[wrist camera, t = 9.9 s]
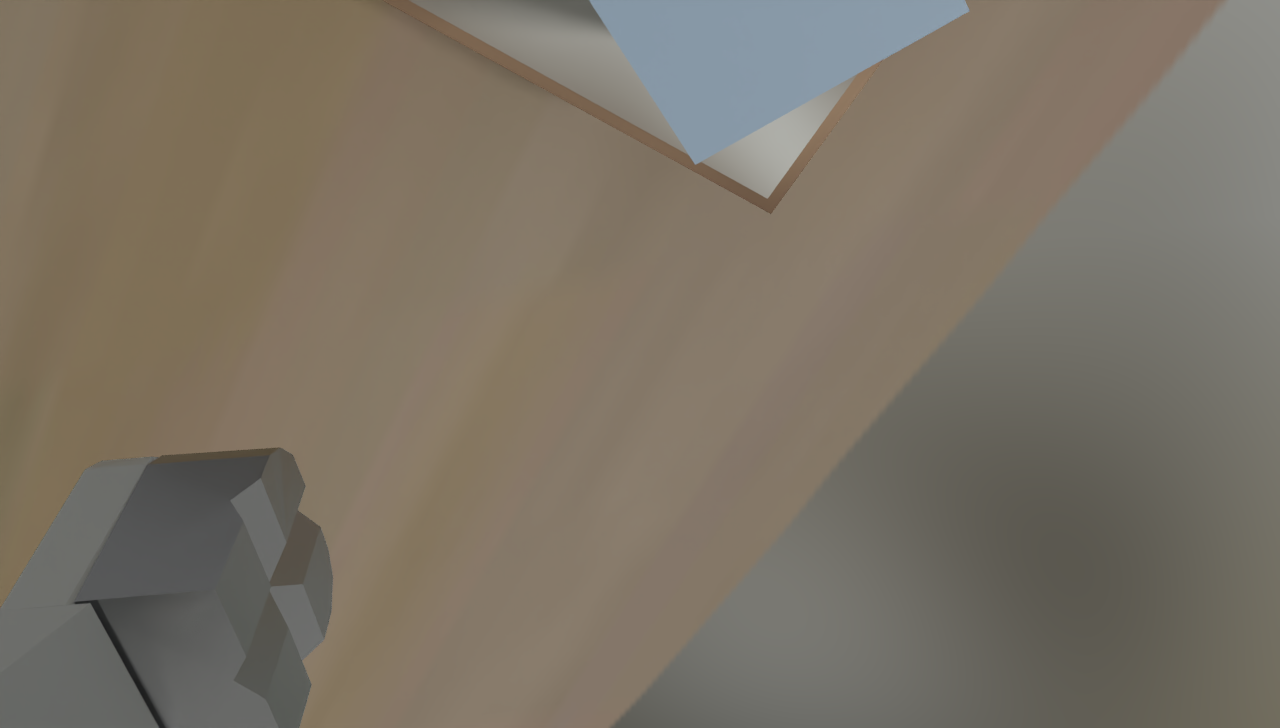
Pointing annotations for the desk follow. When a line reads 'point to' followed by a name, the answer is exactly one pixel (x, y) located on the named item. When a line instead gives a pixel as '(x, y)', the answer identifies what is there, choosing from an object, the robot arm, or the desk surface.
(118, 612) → the robot arm
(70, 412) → the desk surface
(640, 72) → the blue block
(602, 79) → the walnut tray
